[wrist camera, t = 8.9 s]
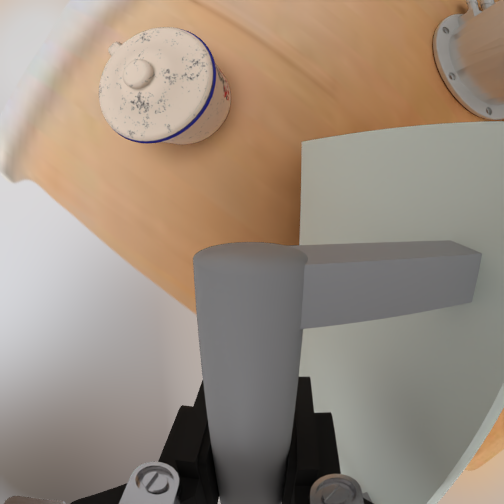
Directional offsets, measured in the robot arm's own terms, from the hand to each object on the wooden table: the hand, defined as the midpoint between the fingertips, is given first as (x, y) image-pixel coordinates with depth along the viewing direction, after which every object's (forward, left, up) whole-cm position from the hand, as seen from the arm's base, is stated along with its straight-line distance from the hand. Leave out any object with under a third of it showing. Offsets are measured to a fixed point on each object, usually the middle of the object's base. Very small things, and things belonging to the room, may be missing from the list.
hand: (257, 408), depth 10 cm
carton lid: (0, +4, -4) cm, 6 cm away
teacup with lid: (-15, -9, -22) cm, 28 cm away
